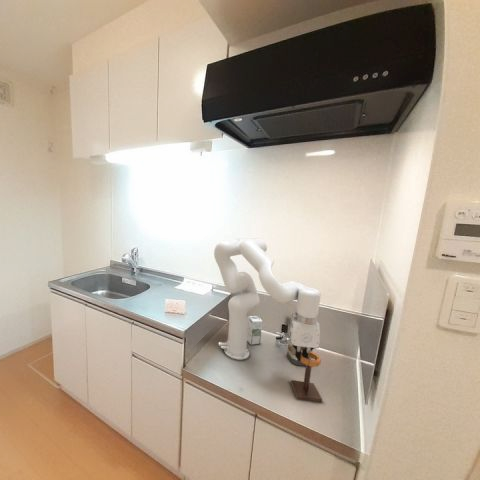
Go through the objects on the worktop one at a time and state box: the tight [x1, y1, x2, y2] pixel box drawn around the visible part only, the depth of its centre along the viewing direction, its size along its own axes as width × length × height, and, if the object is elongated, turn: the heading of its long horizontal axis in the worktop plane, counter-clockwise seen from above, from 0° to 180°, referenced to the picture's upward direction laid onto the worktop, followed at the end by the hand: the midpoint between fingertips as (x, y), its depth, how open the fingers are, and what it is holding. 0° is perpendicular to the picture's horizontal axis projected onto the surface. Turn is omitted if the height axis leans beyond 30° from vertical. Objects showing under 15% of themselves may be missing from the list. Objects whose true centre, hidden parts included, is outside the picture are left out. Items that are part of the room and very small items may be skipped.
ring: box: [300, 350, 322, 368], centre depth 104 cm, size 8×8×2 cm
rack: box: [290, 365, 323, 403], centre depth 105 cm, size 9×9×14 cm
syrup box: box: [247, 315, 263, 346], centre depth 141 cm, size 6×6×14 cm
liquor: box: [286, 326, 313, 367], centre depth 124 cm, size 9×9×30 cm
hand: (301, 359), depth 105 cm, fingers closed on ring
